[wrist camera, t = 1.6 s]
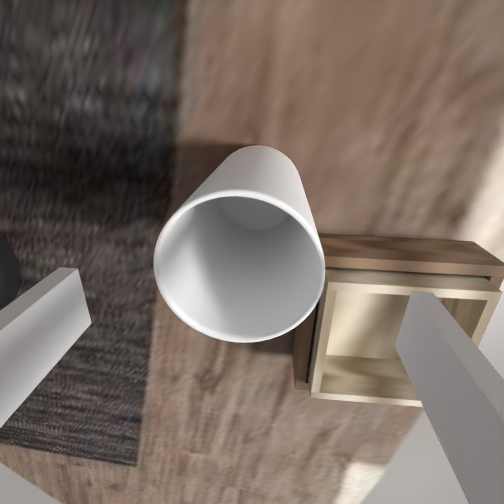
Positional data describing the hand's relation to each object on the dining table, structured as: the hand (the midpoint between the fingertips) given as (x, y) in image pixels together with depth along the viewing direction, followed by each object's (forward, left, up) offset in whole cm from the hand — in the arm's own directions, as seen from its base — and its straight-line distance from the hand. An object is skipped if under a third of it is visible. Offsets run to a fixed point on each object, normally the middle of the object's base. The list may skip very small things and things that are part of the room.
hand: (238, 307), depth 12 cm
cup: (0, 0, -19) cm, 19 cm away
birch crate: (+13, -12, -17) cm, 25 cm away
